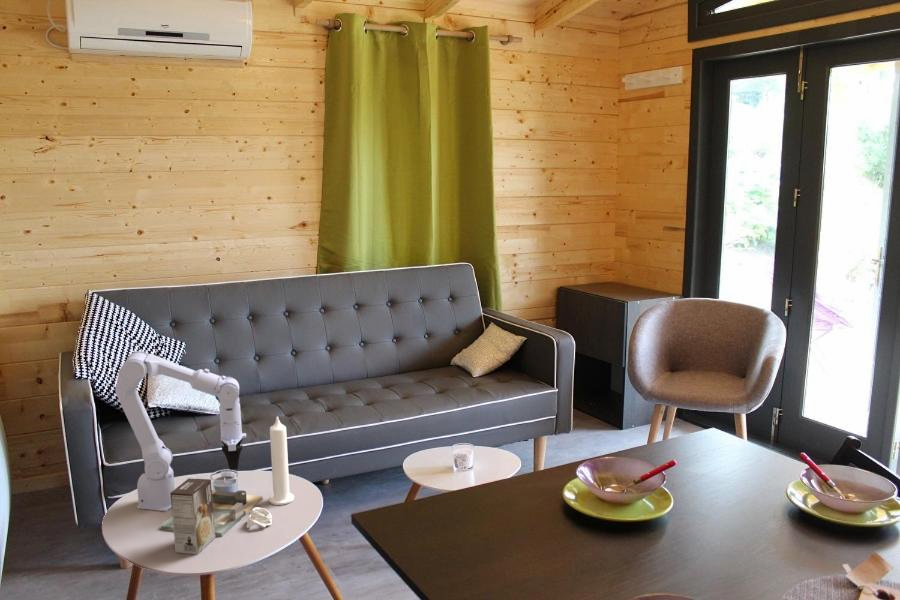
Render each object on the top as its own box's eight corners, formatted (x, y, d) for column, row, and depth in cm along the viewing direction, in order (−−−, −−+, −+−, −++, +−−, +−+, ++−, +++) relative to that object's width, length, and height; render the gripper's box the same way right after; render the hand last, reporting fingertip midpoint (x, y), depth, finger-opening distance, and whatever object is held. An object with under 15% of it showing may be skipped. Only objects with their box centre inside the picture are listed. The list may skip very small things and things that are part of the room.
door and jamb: (160, 529, 201) (159, 515, 200) (206, 493, 222) (205, 481, 221) (221, 536, 197) (220, 522, 196) (262, 499, 218) (261, 486, 217)
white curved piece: (247, 522, 207) (244, 505, 206) (272, 517, 208) (270, 500, 208) (247, 533, 199) (244, 516, 198) (273, 528, 200) (270, 511, 200)
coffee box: (193, 535, 197) (188, 477, 195) (216, 537, 196) (211, 478, 193) (174, 553, 189) (169, 492, 186) (198, 555, 187) (193, 494, 185)
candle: (269, 496, 220) (264, 413, 216) (293, 493, 222) (289, 411, 217) (269, 506, 213) (264, 421, 209) (294, 503, 215) (290, 419, 211)
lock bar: (248, 501, 214) (248, 491, 213) (243, 506, 211) (242, 495, 210) (211, 497, 217) (211, 487, 216) (205, 502, 214) (205, 492, 213)
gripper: (245, 427, 210) (248, 474, 213) (244, 411, 224) (247, 455, 226) (219, 430, 208) (222, 477, 211) (219, 414, 222) (222, 458, 224)
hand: (233, 466), depth 218 cm, fingers open, 4 cm apart
